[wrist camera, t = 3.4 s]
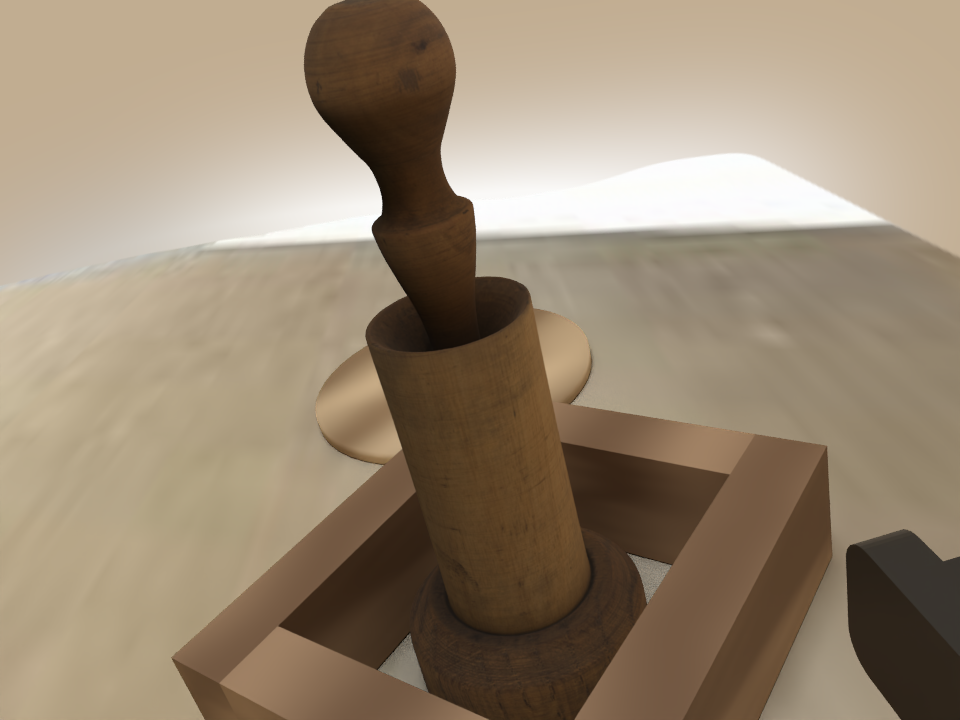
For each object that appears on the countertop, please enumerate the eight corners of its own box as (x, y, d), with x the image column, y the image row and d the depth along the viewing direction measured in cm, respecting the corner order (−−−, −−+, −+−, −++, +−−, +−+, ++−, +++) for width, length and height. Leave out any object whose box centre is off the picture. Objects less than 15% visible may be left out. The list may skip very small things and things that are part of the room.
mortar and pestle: (643, 563, 27) (533, -55, 19) (668, 742, 21) (526, -30, 13) (440, 588, 28) (252, 14, 20) (412, 764, 23) (135, 64, 14)
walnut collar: (226, 758, 24) (171, 657, 22) (493, 476, 33) (469, 388, 31) (629, 1006, 17) (595, 885, 15) (832, 555, 26) (827, 445, 24)
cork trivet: (262, 435, 40) (258, 425, 40) (431, 308, 49) (428, 298, 48) (488, 491, 32) (484, 478, 32) (640, 328, 41) (638, 317, 41)
